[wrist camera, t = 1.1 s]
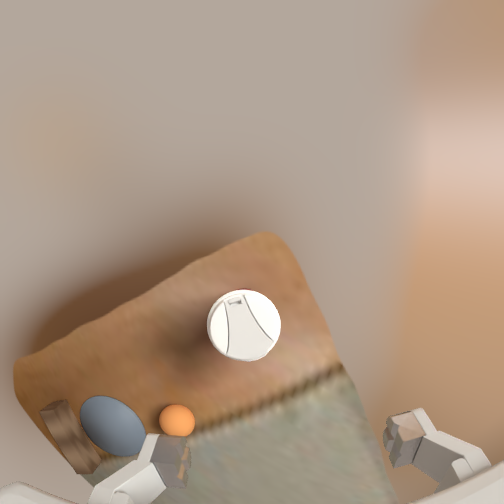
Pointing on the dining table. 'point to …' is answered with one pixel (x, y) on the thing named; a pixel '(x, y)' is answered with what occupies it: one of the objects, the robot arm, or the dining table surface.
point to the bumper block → (70, 437)
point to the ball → (177, 420)
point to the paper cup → (243, 325)
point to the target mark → (112, 426)
